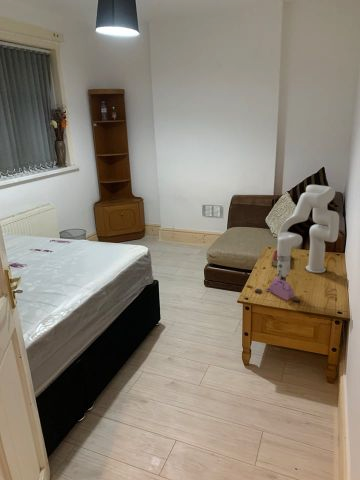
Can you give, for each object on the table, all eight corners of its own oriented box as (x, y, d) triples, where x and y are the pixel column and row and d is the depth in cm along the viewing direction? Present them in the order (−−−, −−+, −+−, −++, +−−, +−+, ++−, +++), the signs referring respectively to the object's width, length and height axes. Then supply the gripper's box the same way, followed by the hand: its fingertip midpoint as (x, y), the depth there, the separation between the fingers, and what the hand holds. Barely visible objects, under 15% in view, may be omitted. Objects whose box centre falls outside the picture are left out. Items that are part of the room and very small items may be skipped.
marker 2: (294, 299, 206) (294, 297, 205) (299, 300, 204) (299, 298, 204) (292, 301, 204) (292, 299, 203) (298, 303, 202) (298, 301, 202)
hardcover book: (271, 266, 250) (272, 260, 249) (274, 255, 269) (274, 249, 267) (289, 267, 246) (289, 262, 245) (290, 256, 265) (291, 251, 264)
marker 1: (257, 290, 218) (257, 288, 218) (261, 291, 217) (261, 289, 216) (255, 292, 216) (255, 290, 216) (259, 293, 214) (259, 291, 214)
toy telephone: (294, 298, 207) (295, 282, 203) (286, 301, 204) (287, 286, 200) (272, 287, 221) (272, 272, 218) (264, 290, 218) (264, 275, 215)
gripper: (285, 262, 200) (284, 291, 207) (294, 253, 212) (292, 281, 218) (272, 260, 205) (271, 288, 211) (282, 251, 216) (280, 278, 222)
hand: (282, 284), depth 215 cm, fingers closed
